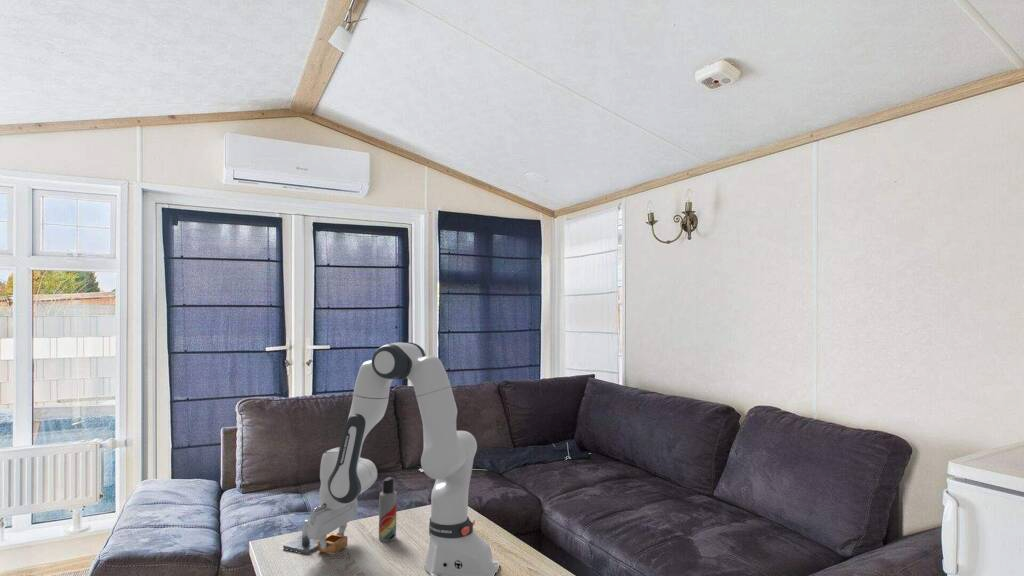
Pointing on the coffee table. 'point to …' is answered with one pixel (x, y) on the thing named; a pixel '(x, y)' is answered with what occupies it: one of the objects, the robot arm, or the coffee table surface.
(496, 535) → the coffee table surface
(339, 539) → the wooden square frame
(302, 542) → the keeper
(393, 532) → the lotion bottle
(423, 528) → the coffee table surface
